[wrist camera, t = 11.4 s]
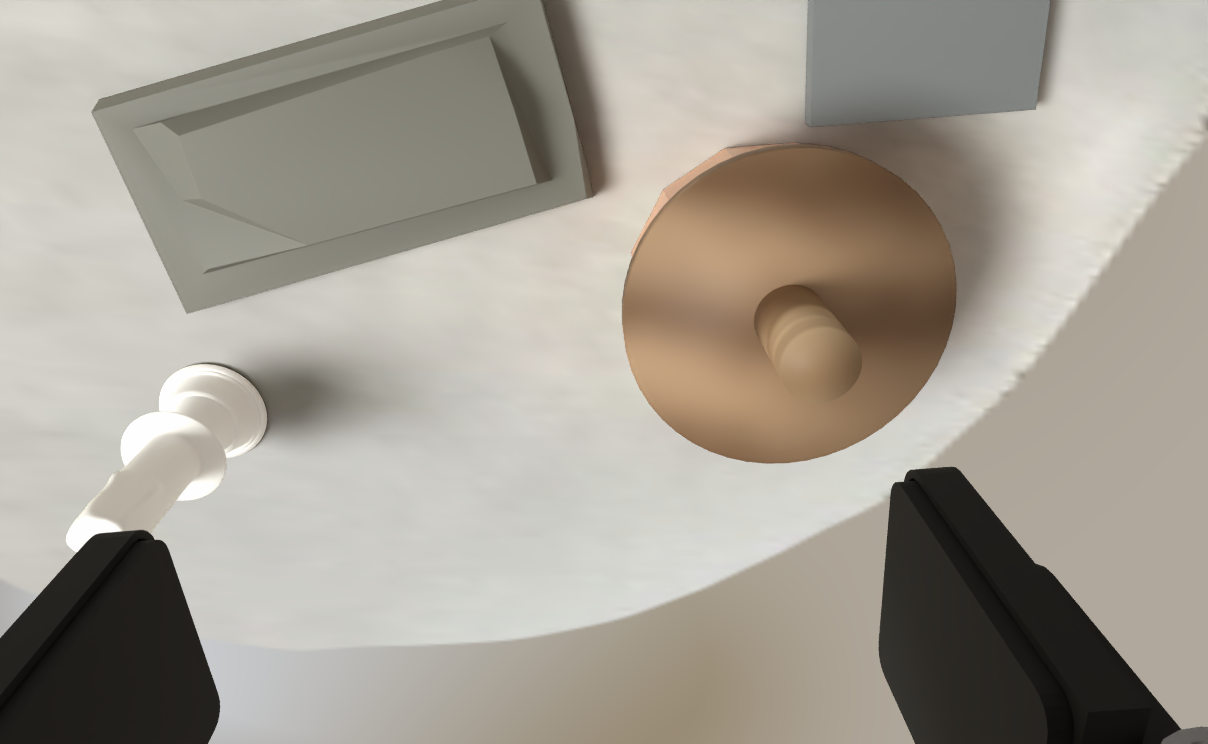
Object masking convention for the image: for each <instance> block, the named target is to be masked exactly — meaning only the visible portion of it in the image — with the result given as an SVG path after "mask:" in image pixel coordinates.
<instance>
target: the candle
mask: <svg viewBox="0 0 1208 744" xmlns="http://www.w3.org/2000/svg"><path fill="white" fill-rule="evenodd" d="M159 409H160V411H159V412H152V413H149V414H146V415H143V416H141V417H139V418H137V419H136V420H135V421H133V422H132V423H131V424H130V425H129V426H128V428H127V429H126V431H125V432H124V435H123V437H122V441H121V454H122V459H123V462H124V464H125V467H124V468H123V469H122V470H121V471H118V472H115V473H114V474H113V475H112V476H111V477H110V479H109V481H108V483H107V485H106V486H105V488H104V489H103V490H102V491H101V492H100V493H99V494H98V495H97V496H96V497H95V498H93V499H92V500H91V501H90V502H89V504H88V505H87V507H86V508H85V509H84V510H83V511H82V513H81V514H80V515H79V516H78V517H77V519H76V520H75V521H74V523H73V525H72V526H71V527H70V529H69V531H68V533H67V536H66V541H67V544H68V546H69V547H70V548H71V549H73V550H74V551H75V552H76V553H77V552H78V551H79V550H80V549H81V547H82V546H83V545H84V544H85V543H86V542H87V541H88V540H89V539H90V538H91V537H92V536H94V535H95V534H99V533H106V532H119V531H132V530H145V531H148V532H149V533H151V532H152V531H153V529H154V528H155V527H156V526H157V524H158V523H159V522H160V521H161V519H162V518H163V517H164V515H165V514H166V513H167V512H168V510H169V509H170V508H171V507H172V505H173V504H174V503H175V502H176V500H193V499H198V498H201V497H204V496H206V495H208V494H210V493H211V492H213V491H214V490H215V489H216V488H217V487H218V486H219V485H220V483H221V482H222V480H223V478H224V476H225V473H226V467H227V461H226V458H229V457H235V456H238V455H241V454H244V453H246V452H248V451H249V450H251V449H252V448H253V447H255V446H256V445H257V444H258V443H259V441H260V440H261V438H262V437H263V435H264V432H265V430H266V425H267V412H266V407H265V404H264V402H263V399H262V397H261V396H260V394H259V392H258V391H257V390H256V388H255V387H254V386H253V385H252V384H251V383H250V382H249V381H248V380H247V379H245V378H244V377H243V376H241V375H240V374H238V373H236V372H234V371H232V370H230V369H228V368H225V367H222V366H218V365H211V364H197V365H192V366H188V367H185V368H183V369H180V370H179V371H177V372H175V373H174V374H173V375H172V376H170V377H169V379H168V380H167V381H166V382H165V384H164V386H163V388H162V390H161V393H160V397H159Z"/></svg>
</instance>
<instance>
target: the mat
mask: <svg viewBox="0 0 1208 744" xmlns="http://www.w3.org/2000/svg"><path fill="white" fill-rule="evenodd" d="M1049 7H1050V0H808V23H807V62H806V100H805V124H806V125H808V126H809V127H818V126H831V125H844V124H857V123H870V122H883V121H895V120H908V119H921V118H934V117H947V116H960V115H972V114H985V113H998V112H1011V111H1024V110H1036V104H1037V97H1038V89H1039V82H1040V74H1041V67H1042V59H1043V52H1044V44H1045V37H1046V29H1047V22H1048V14H1049Z"/></svg>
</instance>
